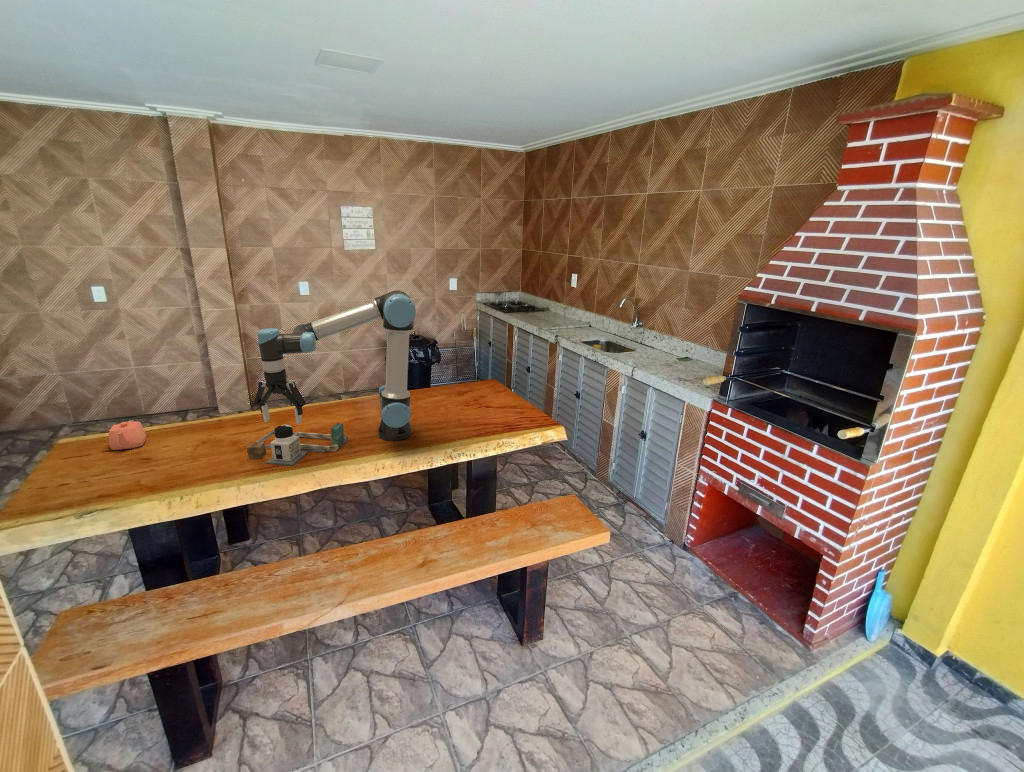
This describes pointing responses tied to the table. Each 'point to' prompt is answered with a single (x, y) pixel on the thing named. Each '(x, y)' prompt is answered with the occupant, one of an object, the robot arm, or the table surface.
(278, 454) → the container
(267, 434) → the lanes
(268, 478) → the table surface
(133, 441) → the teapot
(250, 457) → the walnut cube
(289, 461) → the coaster
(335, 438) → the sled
